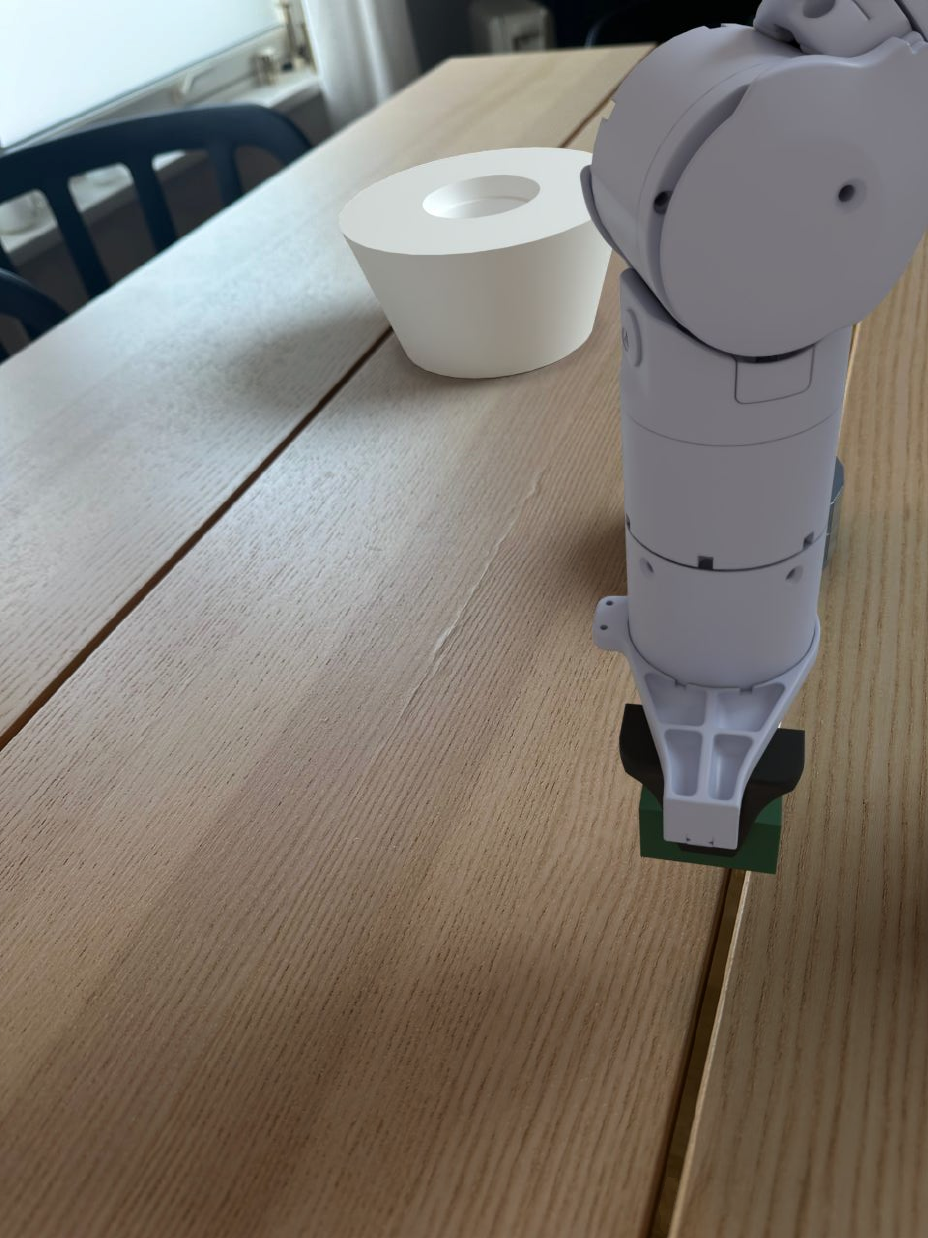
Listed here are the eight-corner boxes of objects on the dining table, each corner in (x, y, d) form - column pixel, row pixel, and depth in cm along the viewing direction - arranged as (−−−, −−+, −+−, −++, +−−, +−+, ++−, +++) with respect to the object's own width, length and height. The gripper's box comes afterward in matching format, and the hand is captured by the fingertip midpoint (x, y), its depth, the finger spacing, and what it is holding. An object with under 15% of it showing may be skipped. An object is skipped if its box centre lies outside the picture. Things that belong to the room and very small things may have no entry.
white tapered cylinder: (568, 255, 99) (559, 129, 92) (681, 348, 82) (682, 200, 74) (341, 317, 96) (312, 191, 88) (407, 428, 78) (378, 282, 70)
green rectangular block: (778, 800, 39) (783, 750, 37) (775, 875, 36) (781, 826, 34) (650, 785, 40) (649, 737, 38) (640, 857, 38) (638, 809, 36)
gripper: (620, 384, 35) (631, 660, 43) (539, 675, 24) (574, 957, 33) (833, 384, 33) (798, 673, 42) (841, 701, 22) (793, 993, 31)
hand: (711, 801), depth 37 cm, fingers closed on green rectangular block, 3 cm apart
